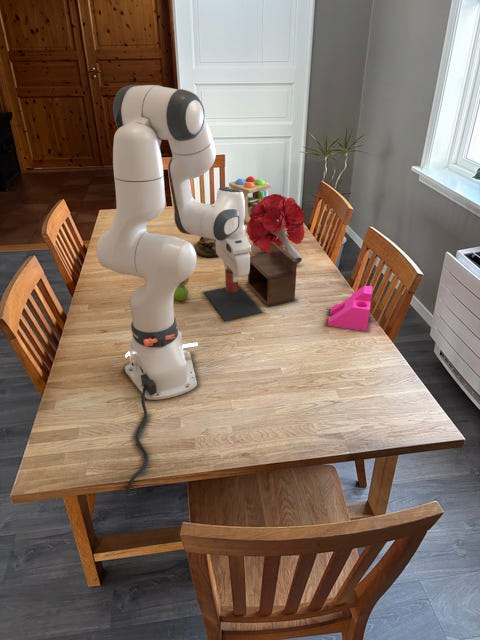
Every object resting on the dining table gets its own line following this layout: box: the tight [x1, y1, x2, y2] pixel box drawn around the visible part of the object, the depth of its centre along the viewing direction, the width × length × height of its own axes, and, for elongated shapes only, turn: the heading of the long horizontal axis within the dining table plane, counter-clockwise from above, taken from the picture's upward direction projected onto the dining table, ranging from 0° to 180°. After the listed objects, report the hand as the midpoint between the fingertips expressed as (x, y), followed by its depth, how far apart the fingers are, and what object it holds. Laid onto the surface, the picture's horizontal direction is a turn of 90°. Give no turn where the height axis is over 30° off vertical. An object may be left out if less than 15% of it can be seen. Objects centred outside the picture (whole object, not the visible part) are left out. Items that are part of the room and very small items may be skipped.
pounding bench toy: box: [228, 175, 272, 225], centre depth 229 cm, size 23×14×18 cm, turn 40°
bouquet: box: [246, 193, 306, 265], centre depth 195 cm, size 22×24×30 cm
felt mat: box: [203, 285, 263, 322], centre depth 168 cm, size 20×13×1 cm, turn 23°
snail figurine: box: [174, 277, 190, 302], centre depth 166 cm, size 5×6×12 cm
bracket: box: [327, 285, 373, 332], centre depth 156 cm, size 12×10×10 cm
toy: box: [224, 266, 239, 292], centre depth 163 cm, size 4×4×10 cm
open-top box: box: [247, 242, 298, 308], centre depth 170 cm, size 17×10×15 cm, turn 23°
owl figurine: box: [194, 236, 219, 258], centre depth 200 cm, size 18×12×17 cm, turn 10°
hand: (231, 277), depth 163 cm, fingers closed on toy, 4 cm apart
